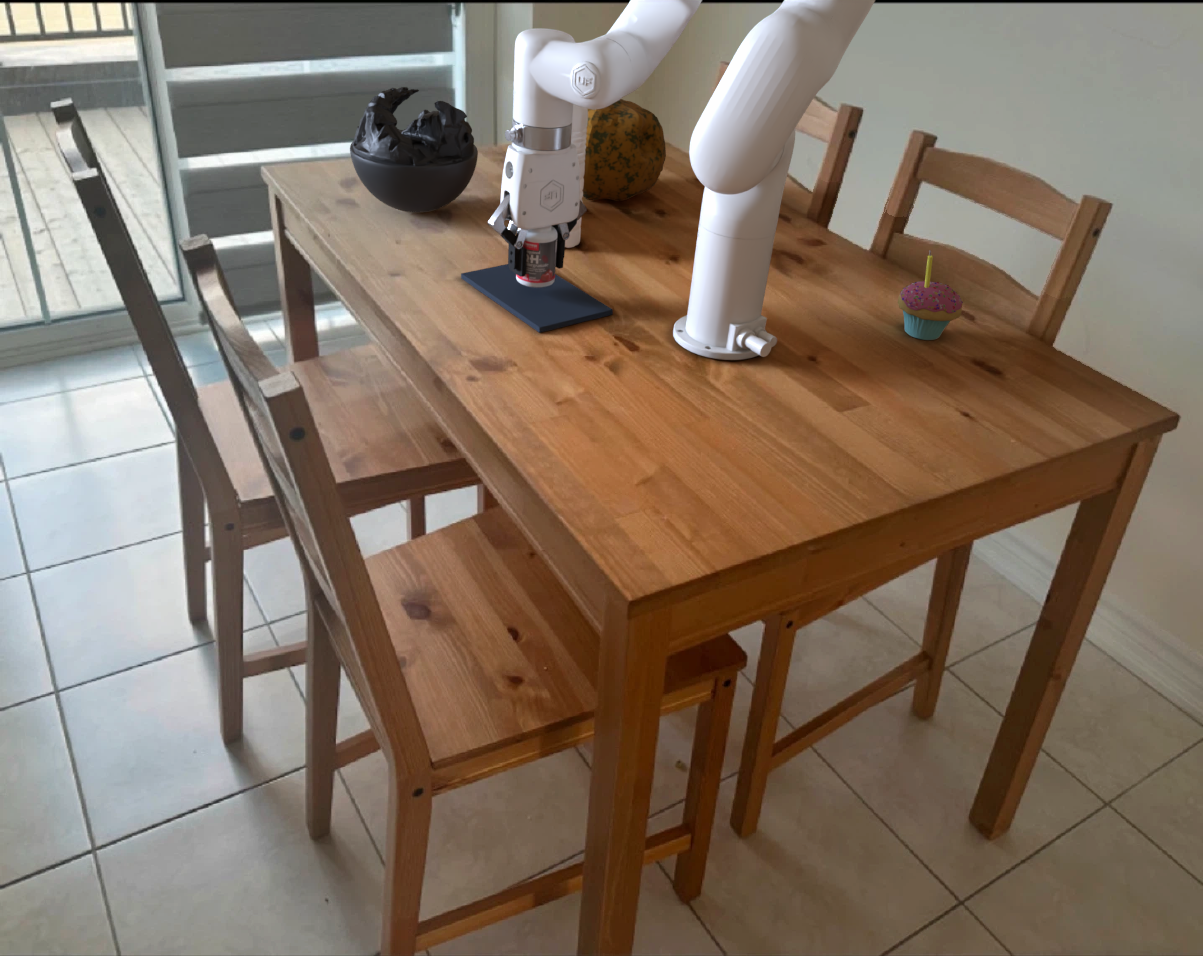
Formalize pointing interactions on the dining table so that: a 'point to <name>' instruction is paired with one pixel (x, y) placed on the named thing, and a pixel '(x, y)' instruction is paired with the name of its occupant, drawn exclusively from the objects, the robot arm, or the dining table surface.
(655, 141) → the decorative pumpkin
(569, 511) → the dining table surface
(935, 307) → the cupcake
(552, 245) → the pill bottle
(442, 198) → the black sculptural bowl
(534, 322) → the mat
